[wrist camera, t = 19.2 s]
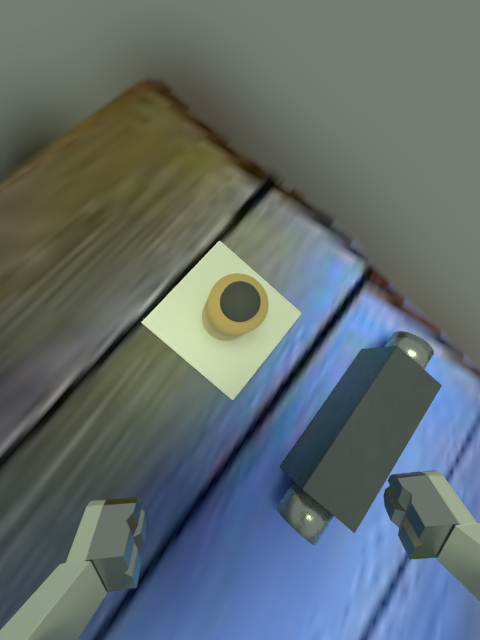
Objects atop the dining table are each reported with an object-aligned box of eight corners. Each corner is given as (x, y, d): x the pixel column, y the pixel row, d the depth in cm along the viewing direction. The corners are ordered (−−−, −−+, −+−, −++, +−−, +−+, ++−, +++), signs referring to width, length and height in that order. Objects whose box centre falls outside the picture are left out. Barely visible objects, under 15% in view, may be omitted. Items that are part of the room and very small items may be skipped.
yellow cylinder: (223, 350, 31) (237, 345, 24) (191, 313, 31) (196, 295, 24) (258, 320, 33) (283, 305, 25) (228, 284, 33) (244, 258, 25)
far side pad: (231, 399, 32) (232, 400, 31) (142, 323, 31) (141, 322, 30) (298, 314, 35) (301, 313, 34) (218, 244, 34) (219, 240, 33)
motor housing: (305, 529, 31) (334, 566, 25) (261, 493, 31) (280, 521, 25) (411, 362, 37) (455, 361, 31) (375, 329, 36) (412, 322, 31)
